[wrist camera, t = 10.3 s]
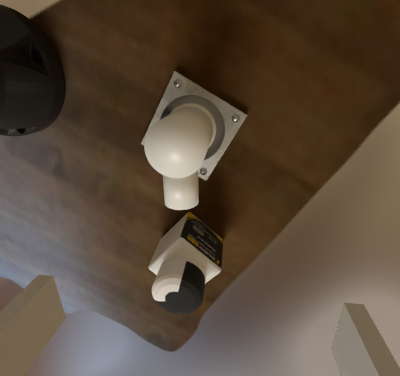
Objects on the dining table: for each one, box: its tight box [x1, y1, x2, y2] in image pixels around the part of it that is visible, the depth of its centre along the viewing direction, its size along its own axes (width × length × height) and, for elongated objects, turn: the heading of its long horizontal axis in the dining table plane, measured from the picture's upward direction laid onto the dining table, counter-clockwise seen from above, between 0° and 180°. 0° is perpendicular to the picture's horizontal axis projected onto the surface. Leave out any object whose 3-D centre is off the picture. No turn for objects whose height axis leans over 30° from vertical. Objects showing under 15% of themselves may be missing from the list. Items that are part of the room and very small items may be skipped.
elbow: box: [144, 103, 216, 210], centre depth 28 cm, size 9×6×10 cm, turn 1°
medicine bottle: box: [148, 212, 223, 314], centre depth 34 cm, size 7×7×12 cm
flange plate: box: [141, 71, 247, 181], centre depth 32 cm, size 10×10×1 cm
